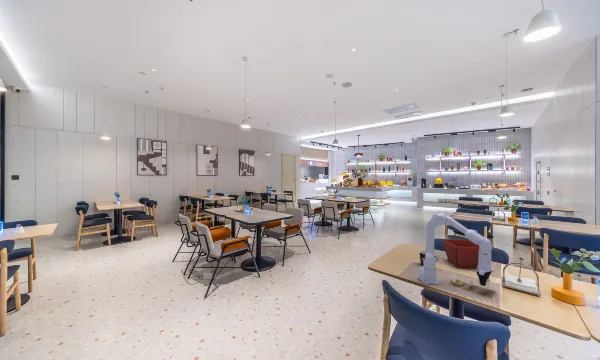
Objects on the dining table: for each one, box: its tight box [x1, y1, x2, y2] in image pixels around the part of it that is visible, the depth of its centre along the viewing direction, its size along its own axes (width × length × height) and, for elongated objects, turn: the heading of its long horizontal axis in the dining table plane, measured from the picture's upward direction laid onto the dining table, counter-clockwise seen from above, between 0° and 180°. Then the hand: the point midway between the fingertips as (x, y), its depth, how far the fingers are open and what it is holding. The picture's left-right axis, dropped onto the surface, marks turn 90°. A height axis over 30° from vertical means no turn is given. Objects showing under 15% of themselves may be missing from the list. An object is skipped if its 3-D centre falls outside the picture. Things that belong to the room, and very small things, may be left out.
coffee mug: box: [419, 250, 439, 267], centre depth 173 cm, size 12×9×10 cm
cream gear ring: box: [477, 277, 491, 288], centre depth 134 cm, size 5×5×3 cm
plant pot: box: [442, 238, 479, 270], centre depth 175 cm, size 19×19×17 cm
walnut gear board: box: [447, 278, 497, 299], centre depth 138 cm, size 21×11×4 cm, turn 42°
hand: (483, 283), depth 134 cm, fingers closed on cream gear ring, 5 cm apart
